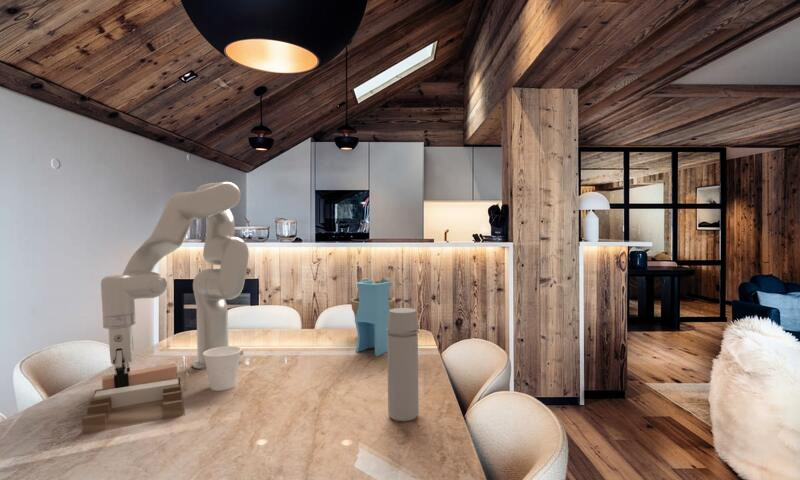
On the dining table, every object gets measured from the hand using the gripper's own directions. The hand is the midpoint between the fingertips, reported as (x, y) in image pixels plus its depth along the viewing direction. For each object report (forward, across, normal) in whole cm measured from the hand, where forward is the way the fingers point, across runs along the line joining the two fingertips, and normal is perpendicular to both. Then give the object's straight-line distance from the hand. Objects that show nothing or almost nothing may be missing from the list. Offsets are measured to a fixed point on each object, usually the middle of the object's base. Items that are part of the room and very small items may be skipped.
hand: (122, 384), depth 120 cm
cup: (+2, -13, -24) cm, 28 cm away
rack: (+2, -19, -4) cm, 20 cm away
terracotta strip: (+2, +1, -4) cm, 5 cm away
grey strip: (+1, -14, -4) cm, 14 cm away
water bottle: (+3, -52, -60) cm, 80 cm away
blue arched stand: (+4, +2, -77) cm, 77 cm away
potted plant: (+4, +22, -86) cm, 89 cm away
